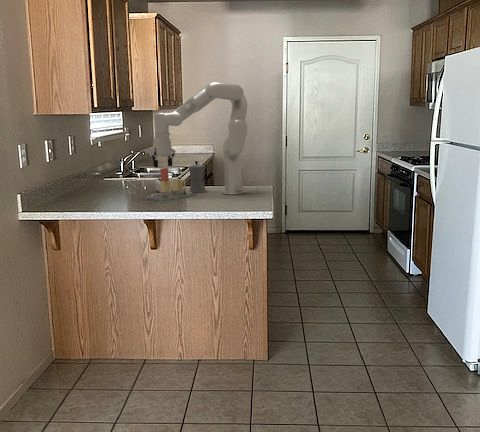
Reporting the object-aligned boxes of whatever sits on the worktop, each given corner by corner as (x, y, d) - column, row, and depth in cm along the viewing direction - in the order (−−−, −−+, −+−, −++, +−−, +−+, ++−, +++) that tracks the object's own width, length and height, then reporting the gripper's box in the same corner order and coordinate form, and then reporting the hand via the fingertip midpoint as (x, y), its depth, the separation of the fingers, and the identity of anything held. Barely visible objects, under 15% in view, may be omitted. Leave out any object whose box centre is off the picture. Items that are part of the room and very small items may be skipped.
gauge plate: (195, 195, 309) (195, 179, 307) (161, 200, 292) (160, 184, 291) (180, 193, 318) (179, 178, 317) (146, 198, 302) (145, 182, 300)
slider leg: (175, 194, 302) (173, 168, 299) (170, 195, 300) (168, 169, 297) (165, 193, 308) (164, 167, 305) (160, 193, 306) (159, 168, 303)
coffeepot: (204, 193, 315) (202, 162, 311) (187, 193, 315) (186, 162, 312) (207, 189, 330) (206, 159, 326) (192, 189, 330) (190, 160, 327)
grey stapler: (173, 193, 316) (166, 178, 313) (165, 197, 315) (159, 181, 312) (166, 190, 331) (159, 175, 328) (158, 193, 330) (152, 178, 327)
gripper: (170, 134, 308) (171, 165, 311) (144, 135, 296) (146, 167, 299) (178, 135, 303) (179, 165, 306) (153, 136, 291) (154, 168, 294)
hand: (163, 166), depth 302 cm, fingers open, 9 cm apart
